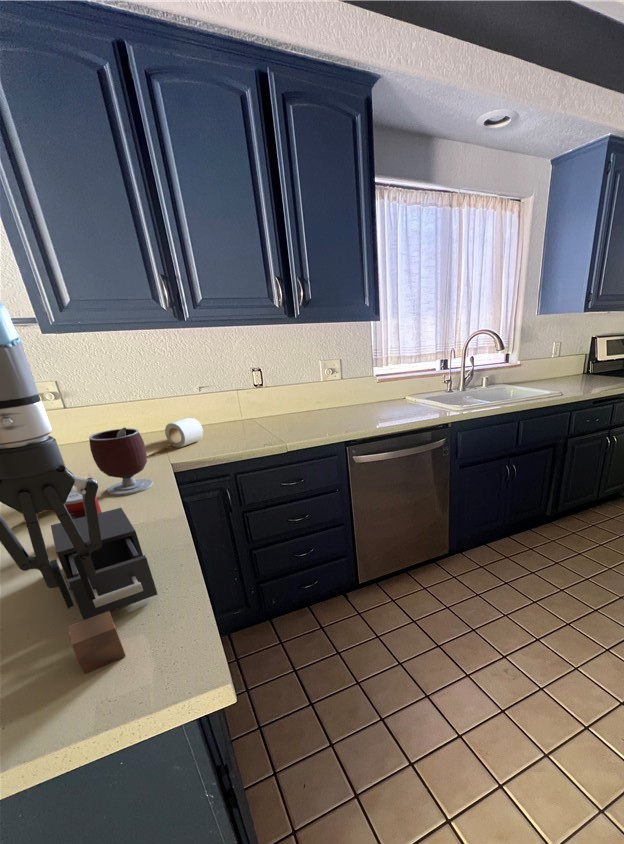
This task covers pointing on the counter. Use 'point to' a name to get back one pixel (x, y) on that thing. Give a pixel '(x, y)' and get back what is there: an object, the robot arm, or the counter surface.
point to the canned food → (77, 505)
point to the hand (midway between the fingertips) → (80, 599)
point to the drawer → (113, 579)
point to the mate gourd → (121, 458)
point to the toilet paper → (183, 432)
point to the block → (96, 642)
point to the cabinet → (111, 529)
